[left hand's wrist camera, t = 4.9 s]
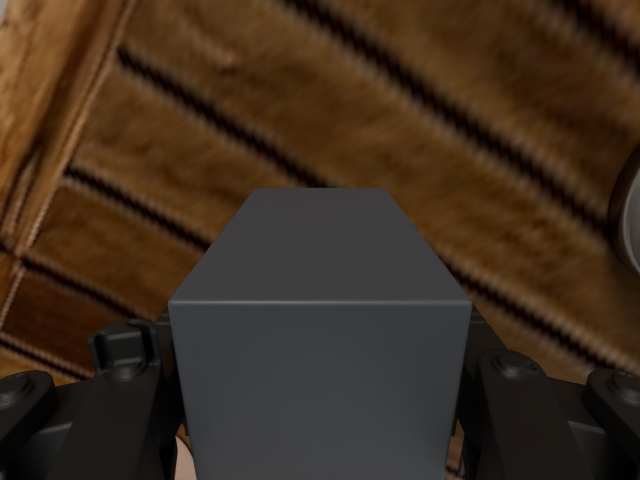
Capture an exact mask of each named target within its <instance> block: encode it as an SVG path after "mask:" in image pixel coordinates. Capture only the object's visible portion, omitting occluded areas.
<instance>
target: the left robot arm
mask: <svg viewBox="0 0 640 480" xmlns="http://www.w3.org/2000/svg"><path fill="white" fill-rule="evenodd" d="M609 221H610V233H611V239H612V242H613V246H614V248H615V250H616V253H617V255H618V256H619V258H620V260H621V261H622V263H623V264H624V265H625V266H626V267H627V268H628V269H629V270H630V271H631V272H632V273H633V274H634V275H636V276H637V277H638V278H640V144H639V145H638V147H637V148H636V149H635V151H634V152H633V154H632V155H631V157H630V158H629V160H628V162H627V163H626V165H625V167H624V169H623V171H622V173H621V175H620V177H619V179H618V182H617V185H616V187H615V190H614V194H613V198H612V202H611V208H610V220H609ZM87 343H88V347H89V350H90V354H91V358H92V362H93V366H94V369H95V375H94V377H93V378H92V379H89V380H85V381H80V382H76V383H71V384H66V385H61V386H57V387H55V384H54V381H53V378H52V376H51V375H50V374H49V373H48V372H46V371H39V370H33V371H25V372H20V373H16V374H12V375H9V376H7V377H5V378H3V379H1V380H0V480H175V472H176V464H177V456H178V447H177V440H176V433H177V431H178V429H179V426H180V424H181V422H182V420H183V422H184V428H185V434H186V436H189V432H188V426H187V419H186V413H185V407H184V401H183V395H182V389H181V383H180V377H179V371H178V365H177V359H176V352H175V346H174V340H173V334H172V328H171V322H170V316H169V310H168V305H167V306H166V308H165V309H164V310H163V312H162V313H161V314H160V317H158V318H157V320H156V321H155V322H154V323H153V322H152V321H150V320H147V319H142V318H130V319H125V320H120V321H116V322H113V323H111V324H108V325H106V326H103V327H102V328H100V329H99V330H97V331H95V332H94V333H93V334H92V335H91V336H90V337H89V338H88V339H87ZM457 418H458V419H459V422H460V424H461V426H462V429H463V431H464V433H465V435H464V440H463V446H462V451H461V457H460V462H459V468H458V475H461V476H463V472H464V471H465V479H466V480H640V378H639V377H637V376H636V375H633V374H631V373H628V372H627V373H626V372H624V371H620V370H613V369H605V368H604V369H598V370H594V371H593V372H591V373H590V374H589V376H588V379H587V382H586V385H582V384H577V383H572V382H568V381H563V380H558V379H554V378H550V377H547V376H546V374H545V372H544V371H543V370H542V368H541V367H540V366H539V364H537V363H536V362H535V361H533V360H532V359H531V358H529V357H527V356H525V355H523V354H521V353H518V352H516V351H512V350H508V349H507V348H506V346H505V345H504V344H503V342H502V341H501V340H500V339H499V337H498V336H497V335H496V333H495V332H494V331H493V329H492V328H491V327H490V325H489V324H487V322H486V320H485V319H484V318H483V316H482V315H480V312H479V311H478V310H477V308H476V307H475V306H474V305H473V303H472V311H471V317H470V323H469V329H468V335H467V341H466V347H465V353H464V359H463V365H462V372H461V378H460V384H459V390H458V396H457V402H456V408H455V414H454V420H453V426H452V432H451V436H455V430H456V424H457Z"/></svg>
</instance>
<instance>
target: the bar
mask: <svg viewBox="0 0 640 480" xmlns="http://www.w3.org/2000/svg"><path fill="white" fill-rule="evenodd" d="M168 310H169V316H170V322H171V328H172V334H173V340H174V346H175V352H176V359H177V365H178V371H179V377H180V383H181V389H182V395H183V401H184V407H185V413H186V419H187V426H188V432H189V438H190V444H191V450H192V456H193V462H194V468H195V474H196V480H444V475H445V469H446V463H447V457H448V451H449V445H450V438H451V432H452V426H453V420H454V414H455V408H456V402H457V396H458V390H459V384H460V378H461V372H462V365H463V359H464V353H465V347H466V341H467V335H468V329H469V323H470V317H471V311H472V301H471V299H470V298H469V296H468V295H467V294H466V293H465V291H464V290H463V289H462V287H461V286H460V285H459V283H458V282H457V281H456V280H455V278H454V277H453V276H452V274H451V273H450V272H449V270H448V269H447V268H446V267H445V265H444V264H443V263H442V261H441V260H440V259H439V258H438V256H437V255H436V254H435V252H434V251H433V250H432V248H431V247H430V246H429V245H428V243H427V242H426V241H425V239H424V238H423V237H422V235H421V234H420V233H419V232H418V230H417V229H416V228H415V226H414V225H413V224H412V223H411V221H410V220H409V219H408V217H407V216H406V215H405V213H404V212H403V211H402V210H401V208H400V207H399V206H398V204H397V203H396V202H395V200H394V199H393V198H392V197H391V195H390V194H389V193H388V191H387V190H386V189H385V188H256V189H254V191H253V192H252V193H251V194H250V196H249V197H248V198H247V200H246V201H245V202H244V204H243V205H242V206H241V207H240V209H239V210H238V211H237V213H236V214H235V215H234V216H233V218H232V219H231V220H230V222H229V223H228V224H227V225H226V227H225V228H224V229H223V231H222V232H221V233H220V234H219V236H218V237H217V238H216V240H215V241H214V242H213V244H212V245H211V246H210V247H209V249H208V250H207V251H206V253H205V254H204V255H203V256H202V258H201V259H200V260H199V262H198V263H197V264H196V265H195V267H194V268H193V269H192V271H191V272H190V273H189V274H188V276H187V277H186V278H185V280H184V281H183V282H182V284H181V285H180V286H179V287H178V289H177V290H176V291H175V293H174V294H173V295H172V296H171V298H170V299H169V301H168Z"/></svg>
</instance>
